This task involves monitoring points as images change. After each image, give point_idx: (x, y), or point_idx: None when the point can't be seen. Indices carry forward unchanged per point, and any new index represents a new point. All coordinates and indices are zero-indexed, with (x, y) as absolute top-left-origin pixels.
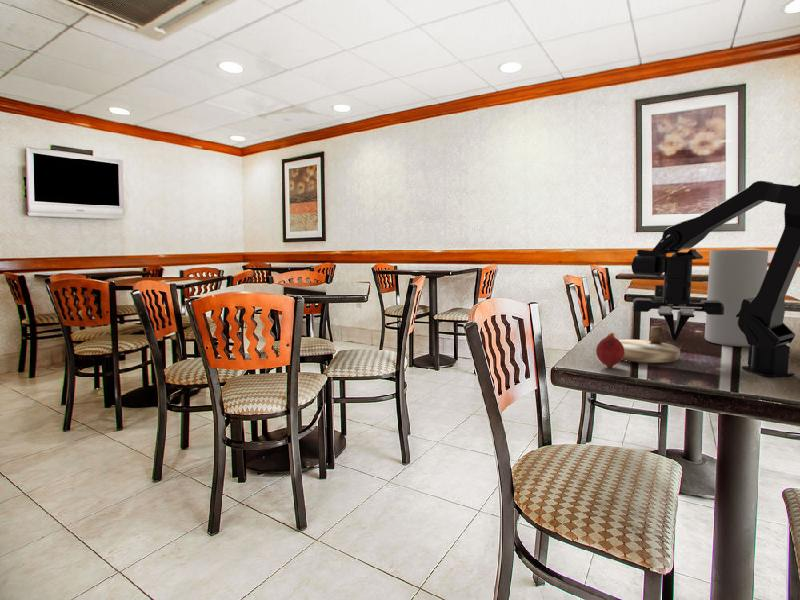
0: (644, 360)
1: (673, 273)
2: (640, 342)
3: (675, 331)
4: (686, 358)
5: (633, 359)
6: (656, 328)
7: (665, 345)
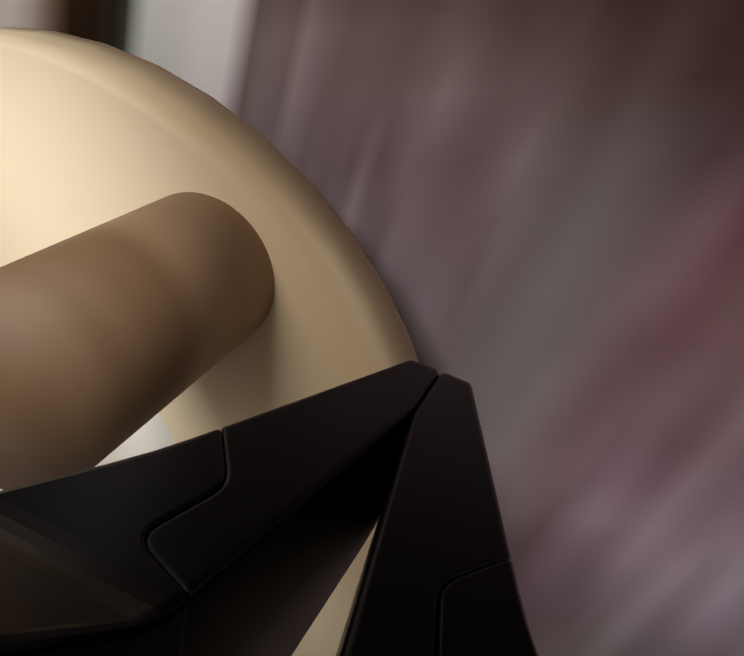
0: None
1: None
2: (24, 250)
3: (362, 570)
4: (563, 481)
5: None
6: (5, 474)
7: None
